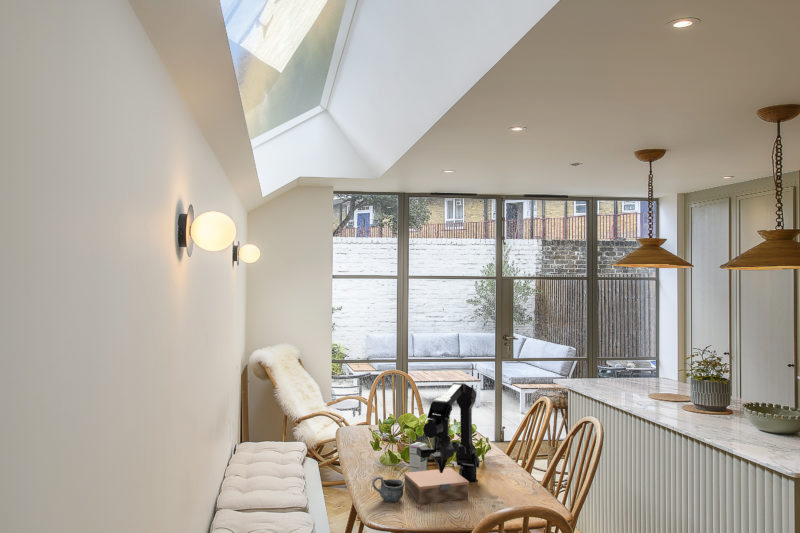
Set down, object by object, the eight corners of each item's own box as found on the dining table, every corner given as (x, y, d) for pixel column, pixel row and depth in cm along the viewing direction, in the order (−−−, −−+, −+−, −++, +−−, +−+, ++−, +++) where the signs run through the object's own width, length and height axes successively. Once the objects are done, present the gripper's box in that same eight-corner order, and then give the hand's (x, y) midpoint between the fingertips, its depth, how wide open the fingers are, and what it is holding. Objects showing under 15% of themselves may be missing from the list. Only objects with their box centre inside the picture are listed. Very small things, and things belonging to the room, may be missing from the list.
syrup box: (420, 480, 262) (420, 446, 262) (409, 477, 266) (409, 444, 266) (427, 477, 267) (427, 443, 267) (416, 474, 270) (416, 441, 271)
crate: (450, 485, 256) (450, 470, 256) (468, 499, 238) (468, 484, 239) (404, 490, 249) (404, 475, 250) (419, 505, 232) (419, 489, 232)
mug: (408, 502, 235) (408, 476, 235) (378, 508, 230) (378, 481, 230) (397, 495, 244) (397, 469, 244) (368, 499, 238) (368, 473, 239)
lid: (450, 472, 256) (450, 467, 256) (469, 486, 238) (469, 481, 238) (404, 477, 249) (404, 472, 249) (420, 492, 231) (420, 486, 231)
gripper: (426, 439, 228) (425, 481, 228) (471, 435, 234) (471, 476, 234) (416, 432, 239) (415, 472, 238) (460, 429, 245) (460, 468, 244)
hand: (441, 472), depth 238 cm, fingers closed
